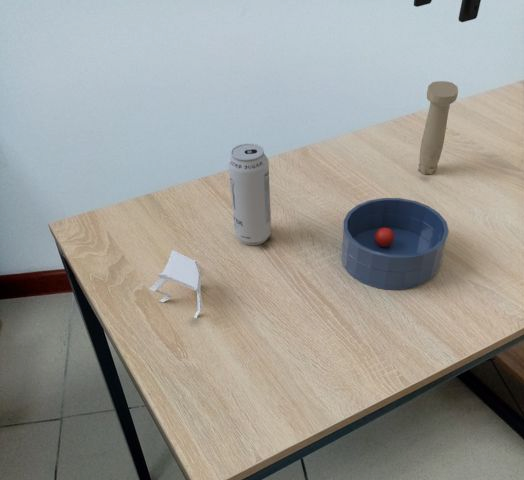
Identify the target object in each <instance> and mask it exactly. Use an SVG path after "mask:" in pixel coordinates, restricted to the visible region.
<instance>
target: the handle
mask: <svg viewBox="0 0 524 480" xmlns="http://www.w3.org/2000/svg"><path fill="white" fill-rule="evenodd" d="M458 94H459V88H458V85H456V84H455V83H453V82H450V81H446V80H445V81H443V80H439V81H438V80H437V81H432V82H431V83H430V84H429V85H428V86H427V90H426V99H427V101H428V102H430V103H429V108H428V112H427V117H426V120H425V125H424V129H423V134H422V137H421V143H420V149H419V157H418V159H419V160H418V161H419V163H418V169H417V170H418V172H420V173H422V175H433V173H435V172H436V171H437V169H438V165H439V162H440V159H441V156H442V152H443V148H444V143H445V137H446V131H447V125H448V124H447V123H448V119H449V118H448V117H449V111H450V108H451V107H450V106H451V104H453V103H455V102H456V100H457V99H458Z"/></svg>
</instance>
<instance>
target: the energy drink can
mask: <svg viewBox="0 0 524 480" xmlns="http://www.w3.org/2000/svg"><path fill="white" fill-rule="evenodd" d="M230 152H231V153H230V154H231V155H230V158H229V160H228V163H227V165H228V176H229V187H230V195H231V206H232V215H233V216H232V217H233V226H234V235H235V236H236V238H237V239H238V240H239V241H240V242H241V244H244V245H246V246H259V245H262V244H264V243H265V242H266V241H267V240H268V239H269V237H270V236H271V234H272V216H271V215H272V214H271V189H270V170H269V169H270V166H269V164H270V163H269V158H268V157H267V155H266V153H265V149H264V147H262V146H261V145H259V144H256V143H243V144H239V145H237V146H235V147H233V148H232V149H231V151H230Z"/></svg>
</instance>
